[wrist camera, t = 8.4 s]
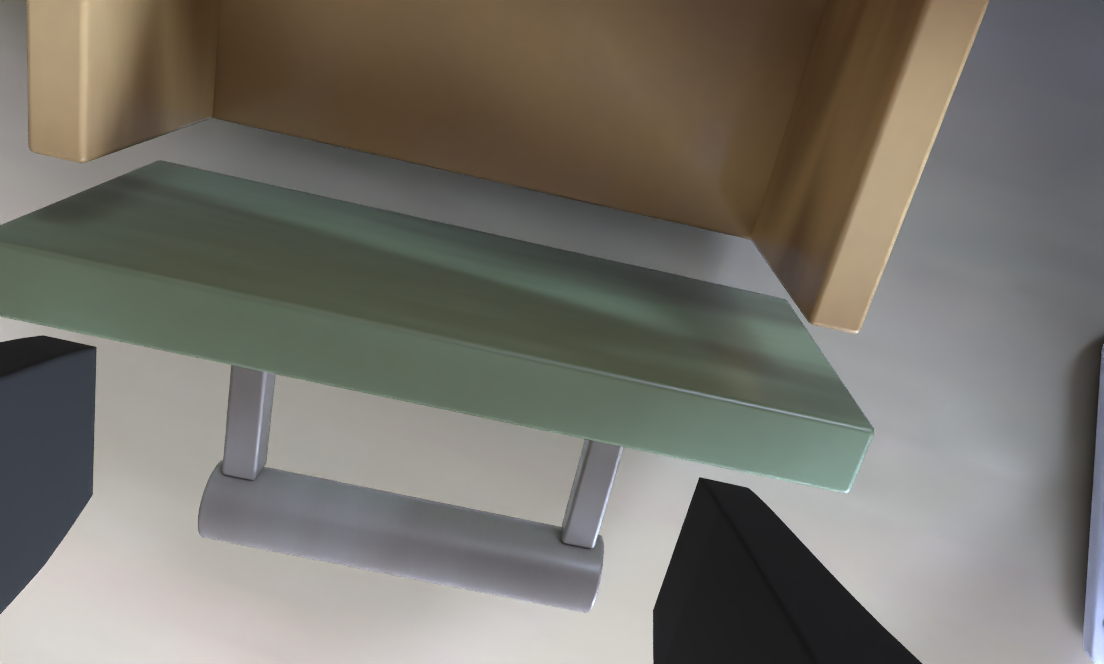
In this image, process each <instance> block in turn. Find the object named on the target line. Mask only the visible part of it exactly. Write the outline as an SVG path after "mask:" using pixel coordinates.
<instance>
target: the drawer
mask: <svg viewBox="0 0 1104 664" xmlns="http://www.w3.org/2000/svg"><path fill="white" fill-rule="evenodd" d="M988 3H989V0H27V65H28V133H29V148H30V150H31V151H33V152H35V153H38V154H42V155H47V156H51V157H56V158H60V159H65V160H69V161H74V162H79V163H84V162H88V161H91V160H94V159H97V158H99V157H102V156H105V155H108V154H111V153H114V152H116V151H119V150H122V149H125V148H128V147H131V146H133V145H136V144H139V143H142V142H145V141H148V140H150V139H153V138H156V137H159V136H162V135H165V134H167V133H170V132H173V131H176V130H179V129H181V128H184V127H187V126H190V125H193V124H196V123H198V122H201V121H204V120H207V119H210V118H215V119H219V120H224V121H228V122H233V123H237V124H242V125H246V126H250V127H255V128H259V129H264V130H268V131H273V132H277V133H281V134H286V135H290V136H295V137H299V138H303V139H308V140H312V141H317V142H321V143H326V144H330V145H334V146H339V147H343V148H348V149H352V150H357V151H361V152H365V153H370V154H374V155H379V156H383V157H388V158H392V159H396V160H401V161H405V162H410V163H414V164H418V165H423V166H427V167H432V168H436V169H441V170H445V171H449V172H454V173H458V174H463V175H467V176H472V177H476V178H480V179H485V180H489V181H494V182H498V183H502V184H507V185H511V186H516V187H520V188H525V189H529V190H533V191H538V192H542V193H547V194H551V195H556V196H560V197H564V198H569V199H573V200H578V201H582V202H587V203H591V204H595V205H600V206H604V207H609V208H613V209H617V210H622V211H626V212H631V213H635V214H640V215H644V216H648V217H653V218H657V219H662V220H666V221H671V222H675V223H679V224H684V225H688V226H693V227H697V228H702V229H706V230H710V231H715V232H719V233H724V234H728V235H732V236H737V237H741V238H746V239H750V240H752V242H753V243H754V245H755V246H756V248H757V249H758V250H759V252H760V253H761V255H762V256H763V258H764V259H765V260H766V262H767V263H768V265H769V266H770V268H771V269H772V271H773V272H774V273H775V275H776V276H777V278H778V279H779V281H780V282H781V283H782V285H783V286H784V288H785V289H786V291H787V292H788V293H789V295H790V296H791V298H792V299H793V301H794V302H795V303H796V305H797V306H798V308H799V309H800V311H801V312H802V313H803V315H804V316H805V318H806V319H807V321H808V322H809V323H811V324H812V325H816V326H821V327H825V328H830V329H834V330H839V331H843V332H848V333H858V332H859V331H860V329H861V327H862V324H863V322H864V319H865V317H866V314H867V312H868V309H869V306H870V304H871V301H872V299H873V296H874V294H875V291H876V289H877V286H878V283H879V281H880V278H881V276H882V273H883V271H884V268H885V266H886V263H887V261H888V258H889V255H890V253H891V250H892V248H893V245H894V243H895V240H896V238H897V235H898V232H899V230H900V227H901V225H902V222H903V220H904V217H905V215H906V212H907V210H908V207H909V204H910V202H911V199H912V197H913V194H914V192H915V189H916V187H917V184H918V181H919V179H920V176H921V174H922V171H923V169H924V166H925V164H926V161H927V159H928V156H929V153H930V151H931V148H932V146H933V143H934V141H935V138H936V136H937V133H938V130H939V128H940V125H941V123H942V120H943V118H944V115H945V113H946V110H947V108H948V105H949V102H950V100H951V97H952V95H953V92H954V90H955V87H956V85H957V82H958V79H959V77H960V74H961V72H962V69H963V67H964V64H965V62H966V59H967V57H968V54H969V51H970V49H971V46H972V44H973V41H974V39H975V36H976V34H977V31H978V28H979V26H980V23H981V21H982V18H983V16H984V13H985V11H986V8H987V6H988ZM0 316H1V317H6V318H10V319H15V320H20V321H25V322H29V323H34V324H39V325H44V326H49V327H53V328H58V329H63V330H68V331H72V332H77V333H82V334H87V335H92V336H96V337H101V338H106V339H111V340H115V341H120V342H125V343H130V344H135V345H139V346H144V347H149V348H154V349H158V350H163V351H168V352H173V353H178V354H182V355H187V356H192V357H197V358H201V359H206V360H211V361H216V362H221V363H225V364H230V365H231V375H230V387H229V399H228V410H227V422H226V434H225V446H224V457H223V460H222V461H220V462H219V463H218V464H217V466H216V467H215V469H214V470H213V472H212V474H211V476H210V478H209V480H208V482H207V484H206V487H205V490H204V493H203V496H202V500H201V504H200V508H199V515H198V531H199V534H200V535H201V536H202V537H203V538H208V539H213V540H218V541H223V542H228V543H233V544H238V545H243V546H248V547H254V548H259V549H264V550H269V551H274V552H279V553H284V554H289V555H294V556H299V557H304V558H309V559H314V560H320V561H325V562H330V563H335V564H340V565H345V566H350V567H355V568H360V569H365V570H370V571H375V572H380V573H386V574H391V575H396V576H401V577H406V578H411V579H416V580H421V581H426V582H431V583H436V584H441V585H446V586H451V587H457V588H462V589H467V590H472V591H477V592H482V593H487V594H492V595H497V596H502V597H507V598H512V599H517V600H523V601H528V602H533V603H538V604H543V605H548V606H553V607H558V608H563V609H568V610H573V611H578V612H583V613H588V612H590V610H591V609H592V607H593V605H594V602H595V599H596V596H597V593H598V589H599V584H600V579H601V574H602V567H603V557H604V543H603V538H602V536H600V535H598V533H599V530H600V527H601V523H602V520H603V516H604V513H605V509H606V506H607V503H608V499H609V496H610V492H611V489H612V486H613V482H614V479H615V475H616V472H617V469H618V465H619V462H620V458H621V455H622V451H623V448H624V447H627V448H631V449H636V450H641V451H646V452H650V453H655V454H660V455H665V456H670V457H674V458H679V459H684V460H689V461H693V462H698V463H703V464H708V465H713V466H717V467H722V468H727V469H732V470H736V471H741V472H746V473H751V474H756V475H760V476H765V477H770V478H775V479H779V480H784V481H789V482H794V483H799V484H803V485H808V486H813V487H818V488H822V489H827V490H832V491H837V492H842V493H848V492H849V491H850V489H851V487H852V485H853V482H854V480H855V478H856V475H857V473H858V470H859V468H860V466H861V463H862V461H863V458H864V456H865V454H866V451H867V449H868V447H869V444H870V442H871V439H872V437H873V435H874V428H873V427H872V425H871V424H870V422H869V421H868V419H867V418H866V417H865V415H864V414H863V412H862V411H861V409H860V408H859V406H858V405H857V403H856V402H855V400H854V399H853V397H852V396H851V394H850V393H849V391H848V390H847V388H846V387H845V386H844V384H843V383H842V381H841V380H840V378H839V377H838V375H837V374H836V372H835V371H834V369H833V368H832V366H831V365H830V363H829V362H828V360H827V359H826V357H825V356H824V354H823V353H822V352H821V350H820V349H819V347H818V346H817V344H816V343H815V341H814V340H813V338H812V337H811V335H810V334H809V332H808V331H807V329H806V328H805V326H804V325H803V323H802V322H801V321H800V319H799V318H798V316H797V315H796V313H795V312H794V310H793V309H792V307H791V306H790V304H789V303H788V301H787V300H785V299H782V298H777V297H773V296H768V295H764V294H759V293H755V292H750V291H746V290H741V289H737V288H732V287H728V286H723V285H719V284H714V283H710V282H705V281H701V280H696V279H692V278H687V277H683V276H678V275H674V274H669V273H665V272H660V271H656V270H651V269H647V268H642V267H638V266H633V265H629V264H624V263H620V262H615V261H611V260H606V259H602V258H597V257H593V256H588V255H584V254H579V253H575V252H570V251H566V250H561V249H557V248H552V247H548V246H543V245H539V244H534V243H530V242H525V241H521V240H516V239H512V238H507V237H503V236H499V235H494V234H490V233H485V232H481V231H476V230H472V229H467V228H463V227H458V226H454V225H449V224H445V223H440V222H436V221H431V220H427V219H422V218H418V217H413V216H409V215H404V214H400V213H395V212H391V211H386V210H382V209H377V208H373V207H368V206H364V205H359V204H355V203H350V202H346V201H341V200H337V199H332V198H328V197H323V196H319V195H314V194H310V193H305V192H301V191H296V190H292V189H287V188H283V187H278V186H274V185H269V184H265V183H260V182H256V181H251V180H247V179H242V178H238V177H233V176H229V175H224V174H220V173H215V172H211V171H206V170H202V169H197V168H193V167H188V166H184V165H179V164H175V163H170V162H166V161H161V160H160V161H156V162H153V163H151V164H148V165H146V166H144V167H141V168H139V169H136V170H134V171H131V172H129V173H127V174H124V175H122V176H119V177H117V178H114V179H112V180H109V181H107V182H105V183H102V184H100V185H97V186H95V187H92V188H90V189H88V190H85V191H83V192H80V193H78V194H75V195H73V196H70V197H68V198H66V199H63V200H61V201H58V202H56V203H53V204H51V205H49V206H46V207H44V208H41V209H39V210H36V211H34V212H31V213H29V214H27V215H24V216H22V217H19V218H17V219H14V220H12V221H10V222H7V223H5V224H2V225H0ZM276 374H278V375H283V376H287V377H292V378H297V379H302V380H306V381H311V382H316V383H321V384H326V385H330V386H335V387H340V388H345V389H349V390H354V391H359V392H364V393H369V394H373V395H378V396H383V397H388V398H392V399H397V400H402V401H407V402H412V403H416V404H421V405H426V406H431V407H435V408H440V409H445V410H450V411H455V412H459V413H464V414H469V415H474V416H478V417H483V418H488V419H493V420H498V421H502V422H507V423H512V424H517V425H521V426H526V427H531V428H536V429H541V430H545V431H550V432H555V433H560V434H564V435H569V436H574V437H579V438H584V439H585V442H584V446H583V449H582V453H581V457H580V460H579V464H578V468H577V471H576V475H575V479H574V482H573V486H572V490H571V494H570V497H569V501H568V505H567V508H566V512H565V516H564V519H563V523H562V527H559V526H554V525H549V524H544V523H539V522H534V521H529V520H524V519H519V518H514V517H509V516H504V515H499V514H495V513H490V512H485V511H480V510H475V509H470V508H465V507H460V506H455V505H450V504H445V503H440V502H435V501H430V500H425V499H421V498H416V497H411V496H406V495H401V494H396V493H391V492H386V491H381V490H376V489H371V488H366V487H361V486H356V485H351V484H347V483H342V482H337V481H332V480H327V479H322V478H317V477H312V476H307V475H302V474H297V473H292V472H287V471H282V470H278V469H273V468H268V467H264V466H265V464H266V459H267V449H268V440H269V431H270V422H271V412H272V403H273V394H274V384H275V375H276Z"/></svg>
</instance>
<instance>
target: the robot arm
mask: <svg viewBox="0 0 1104 664" xmlns="http://www.w3.org/2000/svg"><path fill="white" fill-rule="evenodd" d="M95 381H96V347H94V346H89V345H85V344H80V343H75V342H71V341H66V340H62V339H57V338H52V337H48V336H36V337H28V338H21V339H15V340H10V341H5V342H0V614H1V613H2V612H3V611H4V610H5V609H6V607H7V606H8V605H9V604H10V603H11V602H12V601H13V600H14V599H15V597H16V596H17V595H18V594H19V593H20V592H21V591H22V590H23V589H24V588H25V586H26V585H27V584H28V583H29V582H30V581H31V580H32V579H33V577H34V576H35V575H36V574H37V573H38V572H39V571H40V569H41V568H42V567H43V566H44V565H45V563H46V562H47V561H48V559H49V558H50V556H51V555H52V554H53V552H54V551H55V549H56V548H57V547H58V545H59V544H60V543H61V541H62V540H63V538H64V537H65V536H66V534H67V533H68V531H69V530H70V528H71V527H72V525H73V524H74V522H75V521H76V519H77V518H78V516H79V515H80V513H81V512H82V510H83V509H84V507H85V506H86V504H87V503H88V501H89V500H90V498H91V497H92V494H93V456H94V419H95ZM1083 648H1084V651H1085V652H1086V654H1087V655H1088V656H1089V658H1090V659H1091V660H1092V661H1093V662H1094V663H1096V664H1104V344H1103V348H1102V352H1101V368H1100V383H1099V399H1098V414H1097V430H1096V446H1095V461H1094V477H1093V493H1092V508H1091V524H1090V539H1089V555H1088V571H1087V586H1086V602H1085V617H1084V633H1083ZM653 660H654V664H922V663H921V662H920V661H919V660H918V659H917V658H916V657H915V656H914V655H912V654H911V653H910V652H909V651H908V650H907V649H906V648H905V647H904V646H903V645H902V644H901V643H900V642H899V641H898V640H897V639H896V638H894V637H893V636H892V635H891V634H890V633H889V632H888V631H887V630H886V629H885V628H884V627H883V626H882V625H881V624H880V623H879V622H878V621H877V620H876V619H875V618H874V617H873V616H872V615H871V614H870V613H869V612H868V611H867V610H866V609H865V608H864V607H863V606H862V605H861V604H860V603H859V602H858V601H857V600H856V599H855V598H854V597H853V596H852V595H851V594H850V593H849V592H848V591H847V590H846V589H845V588H844V587H843V586H842V584H841V583H840V582H839V581H838V580H837V579H836V578H835V577H834V576H833V575H832V574H831V573H830V572H829V571H828V570H827V569H826V568H825V567H824V566H823V564H822V563H821V562H820V561H819V560H818V559H817V558H816V557H815V556H814V555H813V554H812V553H811V552H810V551H809V549H808V548H807V547H806V546H805V545H804V544H803V543H802V542H801V541H800V540H799V539H798V538H797V537H796V535H795V534H794V533H793V532H792V531H791V530H790V529H789V528H788V527H787V526H786V525H785V524H784V523H783V522H782V520H781V519H780V518H779V517H778V516H777V515H776V514H775V513H774V512H773V511H772V510H771V509H770V508H769V507H768V506H767V505H766V504H765V503H764V502H763V501H762V500H761V499H760V498H759V497H758V496H757V495H756V494H755V493H754V492H752V491H751V490H750V489H749V488H746V487H742V486H737V485H733V484H728V483H723V482H719V481H714V480H709V479H705V478H700V477H699V480H698V483H697V486H696V489H695V492H694V495H693V497H692V500H691V503H690V506H689V509H688V512H687V515H686V518H685V520H684V523H683V526H682V529H681V532H680V535H679V538H678V541H677V543H676V546H675V549H674V552H673V555H672V558H671V561H670V564H669V566H668V569H667V572H666V575H665V578H664V581H663V584H662V587H661V589H660V592H659V595H658V598H657V601H656V604H655V607H654V610H653Z"/></svg>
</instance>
